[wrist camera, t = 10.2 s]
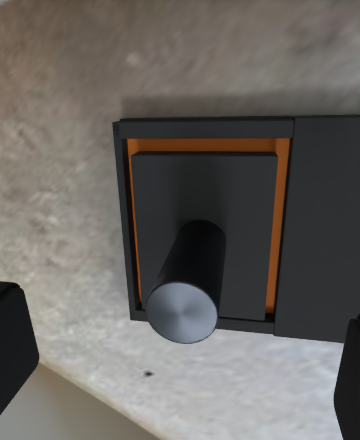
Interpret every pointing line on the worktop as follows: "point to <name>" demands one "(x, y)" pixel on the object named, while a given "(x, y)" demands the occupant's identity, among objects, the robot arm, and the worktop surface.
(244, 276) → the black pad
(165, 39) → the worktop surface
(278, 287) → the base pad
